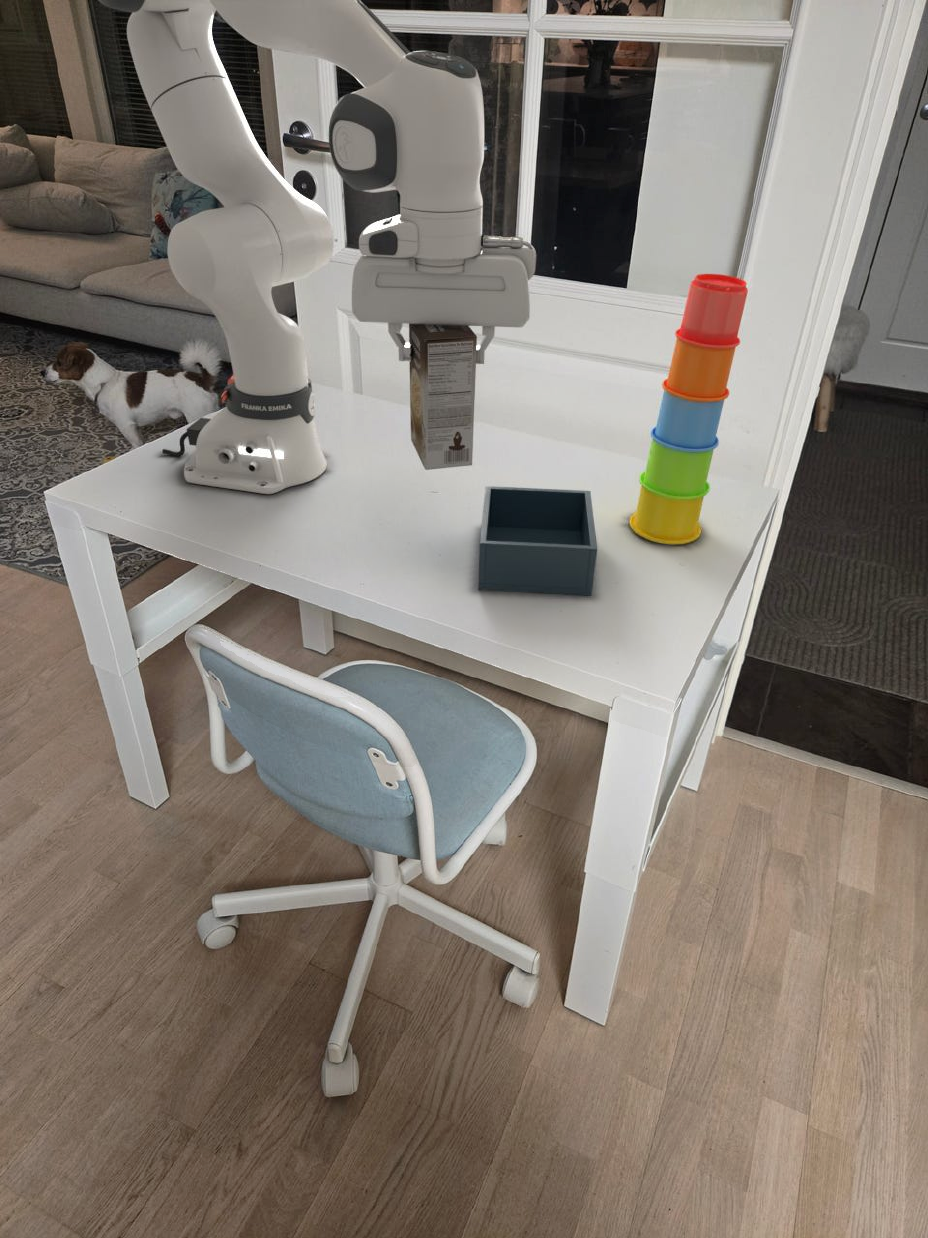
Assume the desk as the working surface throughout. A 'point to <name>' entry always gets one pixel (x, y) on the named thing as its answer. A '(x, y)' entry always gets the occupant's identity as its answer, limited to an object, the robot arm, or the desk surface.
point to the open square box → (537, 541)
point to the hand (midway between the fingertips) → (441, 361)
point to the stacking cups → (690, 412)
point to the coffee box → (442, 394)
